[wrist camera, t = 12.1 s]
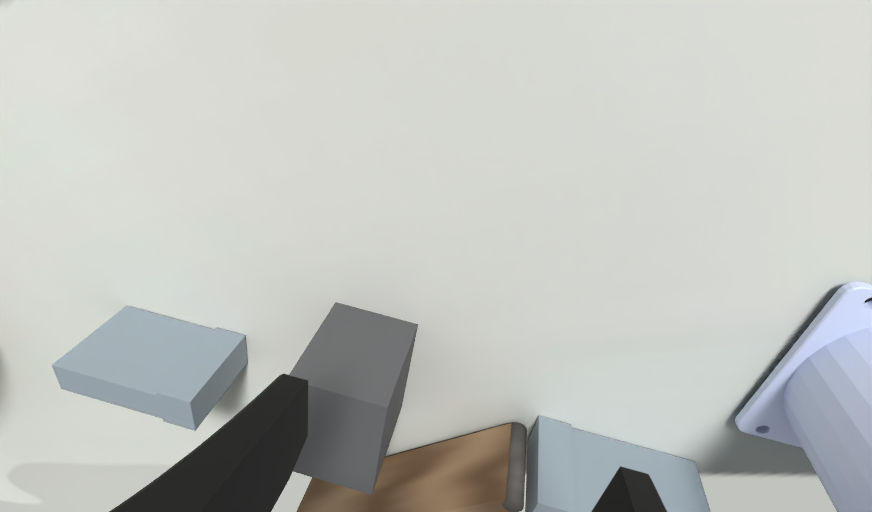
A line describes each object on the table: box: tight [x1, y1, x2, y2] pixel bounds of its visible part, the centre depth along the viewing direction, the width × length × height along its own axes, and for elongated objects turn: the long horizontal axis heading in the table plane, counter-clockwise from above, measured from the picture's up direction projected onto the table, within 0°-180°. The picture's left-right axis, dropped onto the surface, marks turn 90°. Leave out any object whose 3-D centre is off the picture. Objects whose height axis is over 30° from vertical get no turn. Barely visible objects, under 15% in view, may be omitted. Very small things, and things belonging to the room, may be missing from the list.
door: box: [297, 423, 527, 512], centre depth 25 cm, size 15×1×4 cm, turn 124°
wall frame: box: [52, 306, 710, 512], centre depth 22 cm, size 30×2×4 cm, turn 80°
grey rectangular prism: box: [289, 302, 418, 495], centre depth 21 cm, size 4×6×5 cm, turn 169°
